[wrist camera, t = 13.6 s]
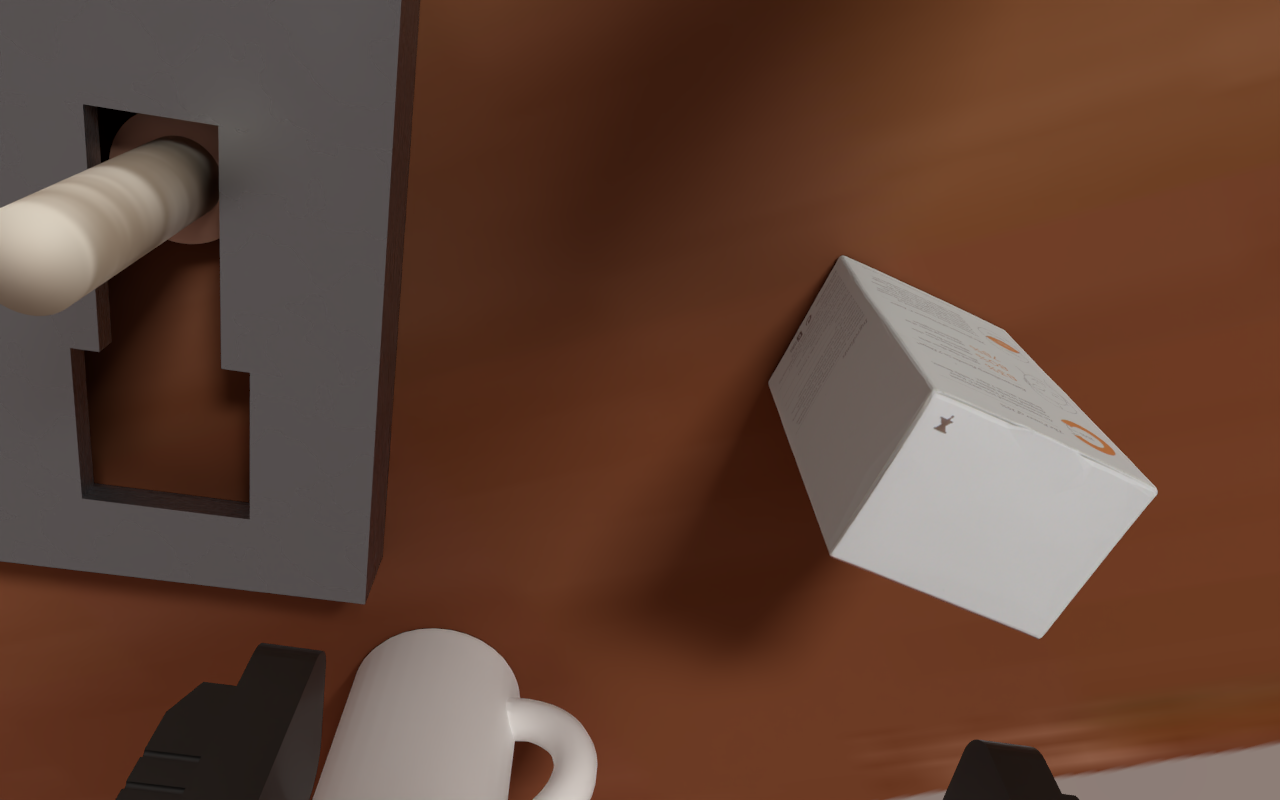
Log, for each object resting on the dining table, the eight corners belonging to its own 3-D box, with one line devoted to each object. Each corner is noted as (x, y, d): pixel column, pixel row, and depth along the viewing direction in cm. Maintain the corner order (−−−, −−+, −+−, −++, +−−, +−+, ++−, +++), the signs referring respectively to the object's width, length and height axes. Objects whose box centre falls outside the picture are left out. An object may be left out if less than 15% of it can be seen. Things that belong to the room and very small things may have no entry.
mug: (613, 737, 50) (612, 960, 39) (380, 767, 50) (315, 996, 40) (585, 604, 47) (576, 808, 36) (335, 638, 47) (251, 850, 36)
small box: (763, 382, 42) (822, 558, 30) (839, 250, 40) (934, 383, 28) (927, 453, 44) (1043, 646, 32) (1009, 330, 41) (1167, 488, 29)
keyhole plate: (-55, -91, 34) (-124, -93, 31) (420, -8, 35) (401, -3, 32) (13, 512, 44) (-34, 557, 41) (382, 557, 45) (365, 604, 42)
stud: (124, 89, 36) (-86, 155, 26) (263, 112, 37) (117, 186, 26) (130, 222, 38) (-60, 335, 28) (263, 242, 39) (126, 361, 28)
